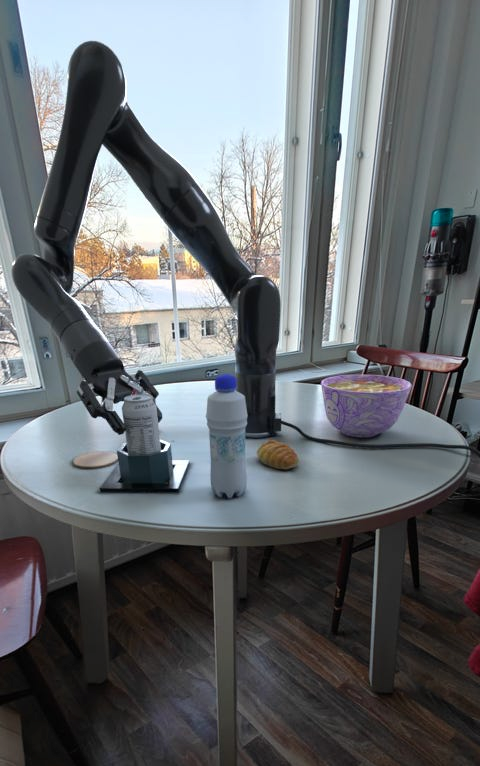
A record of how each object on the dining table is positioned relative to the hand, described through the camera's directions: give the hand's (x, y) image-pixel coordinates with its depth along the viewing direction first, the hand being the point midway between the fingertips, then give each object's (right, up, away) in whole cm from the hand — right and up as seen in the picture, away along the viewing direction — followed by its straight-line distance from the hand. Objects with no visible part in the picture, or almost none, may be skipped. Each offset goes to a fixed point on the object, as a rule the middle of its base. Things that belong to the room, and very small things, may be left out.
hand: (141, 426), depth 82 cm
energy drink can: (0, -9, +5) cm, 10 cm away
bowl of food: (+46, +4, +27) cm, 54 cm away
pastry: (+25, -5, +11) cm, 28 cm away
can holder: (0, -9, +5) cm, 10 cm away
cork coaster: (-12, -4, +13) cm, 19 cm away
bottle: (+16, -12, -2) cm, 20 cm away
